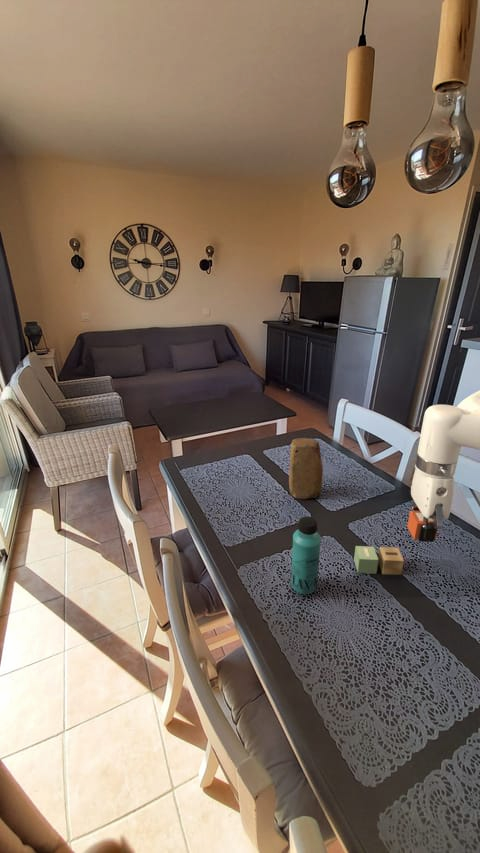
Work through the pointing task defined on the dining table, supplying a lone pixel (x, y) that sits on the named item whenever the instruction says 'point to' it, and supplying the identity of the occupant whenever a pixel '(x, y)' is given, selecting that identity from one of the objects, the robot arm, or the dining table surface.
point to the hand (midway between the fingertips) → (421, 532)
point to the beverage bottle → (305, 556)
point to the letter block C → (417, 523)
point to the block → (305, 469)
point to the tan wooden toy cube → (390, 560)
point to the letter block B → (366, 559)
